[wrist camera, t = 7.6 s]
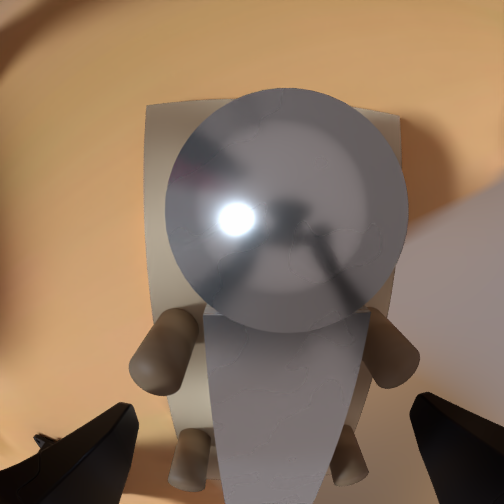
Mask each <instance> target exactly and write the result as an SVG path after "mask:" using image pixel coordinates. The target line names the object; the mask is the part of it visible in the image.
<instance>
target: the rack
mask: <svg viewBox="0 0 504 504" xmlns="http://www.w3.org/2000/svg"><path fill="white" fill-rule="evenodd" d="M233 100H235V99H214V100H196V101H183V102H172V103H163V104H155V105H147V107H146V121H145V139H144V224H145V243H146V257H147V270H148V280H149V290H150V299H151V307H152V315H153V322H154V325H153V327H152V328H151V330H150V331H149V333H148V334H147V336H146V337H145V339H144V340H143V342H142V343H141V345H140V346H139V348H138V349H137V351H136V352H135V354H134V355H133V357H132V359H131V360H130V363H129V372H130V375H131V377H132V379H133V380H134V382H135V383H136V384H137V385H138V386H139V387H140V388H142V389H143V390H145V391H146V392H148V393H151V394H154V395H158V396H167V399H168V404H169V408H170V412H171V416H172V420H173V424H174V428H175V432H176V435H177V439H178V441H177V445H176V449H175V453H174V457H173V461H172V465H171V469H170V473H169V477H168V482H169V483H170V484H171V485H172V486H174V487H175V488H178V489H180V490H184V491H189V492H198V491H202V490H204V489H205V483H206V479H216V480H221V477H220V470H219V464H218V457H217V450H216V443H215V436H214V428H213V420H212V412H211V403H210V394H209V385H208V374H207V364H206V352H205V340H204V326H203V313H204V310H205V307H206V305H207V303H206V302H205V301H204V300H203V299H202V298H201V297H200V296H199V295H198V294H197V293H196V292H195V291H194V290H193V288H192V287H191V286H190V284H189V283H188V281H187V280H186V279H185V277H184V276H183V274H182V272H181V270H180V268H179V267H178V265H177V263H176V261H175V258H174V255H173V253H172V250H171V248H170V244H169V240H168V235H167V231H166V222H165V197H166V191H167V186H168V180H169V177H170V174H171V171H172V168H173V165H174V163H175V161H176V158H177V156H178V154H179V152H180V150H181V148H182V147H183V145H184V144H185V142H186V141H187V140H188V138H189V137H190V135H191V134H192V133H193V132H194V131H195V129H196V128H197V127H198V126H199V125H200V124H201V123H202V122H203V121H204V120H205V119H206V118H208V117H209V116H210V115H211V114H212V113H214V112H215V111H216V110H218V109H219V108H221V107H223V106H224V105H226V104H227V103H229V102H231V101H233ZM352 108H354V109H356V110H357V111H358V112H360V113H361V114H362V115H363V116H365V117H366V118H367V119H368V120H369V121H370V122H371V123H372V124H373V125H374V126H375V127H376V128H377V129H378V130H379V131H380V132H381V134H382V135H383V136H384V138H385V139H386V141H387V142H388V143H389V145H390V146H391V148H392V150H393V152H394V154H395V156H396V157H397V160H398V162H399V165H400V167H401V170H402V153H401V129H400V116H398V115H393V114H388V113H383V112H378V111H373V110H368V109H362V108H356V107H352ZM395 266H396V265H395ZM394 273H395V267H394V269H393V271H392V273H391V275H390V276H389V278H388V279H387V281H386V282H385V283H384V285H383V286H382V288H381V289H380V290H379V291H378V292H377V293H376V294H375V295H374V296H373V297H372V298H371V299H370V300H369V301H368V302H367V303H366V304H365V306H366V307H367V308H368V309H369V310H370V311H371V316H370V321H369V327H368V332H367V337H366V342H365V347H364V351H363V356H362V360H361V364H360V369H359V373H358V377H357V381H356V384H355V388H354V392H353V395H352V399H351V402H350V406H349V409H348V412H347V416H346V419H345V422H344V425H343V428H342V431H341V434H340V437H339V440H338V443H337V446H336V448H335V451H334V454H333V457H332V459H331V462H330V464H329V467H328V469H327V472H326V474H325V475H330V474H332V478H333V482H334V484H335V485H336V486H348V485H352V484H355V483H357V482H359V481H361V480H363V479H364V478H365V477H366V476H367V475H368V473H369V471H368V469H367V466H366V463H365V461H364V458H363V456H362V453H361V450H360V448H359V445H358V443H357V440H356V437H355V435H354V432H355V429H356V426H357V424H358V421H359V418H360V415H361V412H362V409H363V407H364V404H365V401H366V397H367V394H368V391H369V388H370V384H371V381H372V378H374V380H375V382H376V383H377V384H378V386H380V387H381V388H385V389H390V388H394V387H397V386H399V385H401V384H403V383H404V382H406V381H407V380H408V379H409V378H410V377H411V376H412V375H413V374H414V373H415V371H416V369H417V367H418V365H419V361H420V354H419V352H418V350H417V349H416V348H415V347H414V346H413V345H412V344H411V343H410V342H409V341H408V340H407V339H406V338H405V336H404V335H402V333H401V332H400V331H399V330H398V329H397V328H396V327H395V326H394V325H393V324H392V323H391V322H390V321H389V320H388V319H387V315H388V310H389V304H390V299H391V293H392V287H393V280H394Z"/></svg>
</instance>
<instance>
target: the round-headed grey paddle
mask: <svg viewBox="0 0 504 504" xmlns="http://www.w3.org/2000/svg"><path fill="white" fill-rule="evenodd" d="M165 222H166V231H167V235H168V240H169V244H170V248H171V250H172V253H173V255H174V258H175V261H176V263H177V265H178V267H179V268H180V270H181V272H182V274H183V276H184V277H185V279H186V280H187V281H188V283H189V284H190V286H191V287H192V288H193V290H194V291H195V292H196V293H197V294H198V295H199V296H200V297H201V298H202V299H203V300H204V301H205V302H206V303H207V305H206V307H205V310H204V313H203V326H204V340H205V352H206V364H207V374H208V385H209V394H210V403H211V412H212V420H213V428H214V436H215V443H216V450H217V457H218V464H219V470H220V477H221V483H222V489H223V494H224V500H225V504H313V502H314V499H315V497H316V495H317V493H318V491H319V488H320V486H321V484H322V481H323V479H324V476H325V474H326V472H327V469H328V467H329V464H330V462H331V459H332V457H333V454H334V451H335V448H336V446H337V443H338V440H339V437H340V434H341V431H342V428H343V425H344V422H345V419H346V416H347V412H348V409H349V406H350V402H351V399H352V395H353V392H354V388H355V384H356V381H357V377H358V373H359V369H360V364H361V360H362V356H363V351H364V347H365V342H366V337H367V332H368V327H369V321H370V316H371V311H370V310H369V309H368V308H367V307H366V306H365V304H366V303H367V302H368V301H369V300H370V299H371V298H372V297H373V296H374V295H375V294H376V293H377V292H378V291H379V290H380V289H381V288H382V286H383V285H384V283H385V282H386V281H387V279H388V278H389V276H390V275H391V273H392V271H393V269H394V267H395V265H396V263H397V261H398V259H399V256H400V254H401V251H402V249H403V245H404V241H405V237H406V233H407V225H408V196H407V188H406V184H405V180H404V176H403V172H402V170H401V167H400V165H399V162H398V160H397V157H396V156H395V154H394V152H393V150H392V148H391V146H390V145H389V143H388V142H387V141H386V139H385V138H384V136H383V135H382V134H381V132H380V131H379V130H378V129H377V128H376V127H375V126H374V125H373V124H372V123H371V122H370V121H369V120H368V119H367V118H366V117H365V116H363V115H362V114H361V113H360V112H358V111H357V110H356V109H354V108H352V107H351V106H349V105H347V104H346V103H344V102H342V101H340V100H338V99H336V98H333V97H331V96H329V95H326V94H322V93H319V92H315V91H311V90H304V89H297V88H276V89H269V90H262V91H258V92H255V93H251V94H247V95H245V96H242V97H240V98H238V99H235V100H233V101H231V102H229V103H227V104H226V105H224V106H223V107H221V108H219V109H218V110H216V111H215V112H214V113H212V114H211V115H210V116H209V117H208V118H206V119H205V120H204V121H203V122H202V123H201V124H200V125H199V126H198V127H197V128H196V129H195V131H194V132H193V133H192V134H191V135H190V137H189V138H188V140H187V141H186V142H185V144H184V145H183V147H182V148H181V150H180V152H179V154H178V156H177V158H176V161H175V163H174V165H173V168H172V171H171V174H170V177H169V180H168V186H167V191H166V197H165Z"/></svg>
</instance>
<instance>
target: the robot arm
mask: <svg viewBox="0 0 504 504" xmlns="http://www.w3.org/2000/svg"><path fill="white" fill-rule="evenodd" d="M410 420H411V423H412V427H413V430H414V433H415V437H416V440H417V444H418V447H419V451H420V453H421V456H422V458H423V461H424V463H425V466H426V469H427V471H428V474H429V476H430V479H431V482H432V484H433V487H434V489H435V493H436V495H437V498H438V501H439V504H504V427H503V426H500V425H498V424H496V423H493V422H491V421H489V420H487V419H484V418H482V417H480V416H478V415H476V414H474V413H472V412H470V411H467V410H465V409H463V408H461V407H459V406H457V405H455V404H452V403H451V402H449V401H447V400H444V399H442V398H440V397H438V396H436V395H434V394H432V393H430V392H425V393H421V394H418V395H417V397H416V399H415V401H414V403H413V405H412V408H411V410H410ZM138 429H139V422H138V419H137V416H136V413H135V410H134V407H133V406H132V404H128V403H123V402H119V403H117V404H116V405H114V406H113V407H111V408H110V409H108V410H107V411H105V412H104V413H102V414H101V415H99V416H97V417H96V418H94V419H93V420H91V421H90V422H88V423H86V424H85V425H83V426H82V427H80V428H79V429H77V430H75V431H74V432H72V433H71V434H69V435H67V436H66V437H64V438H62V439H61V440H59V441H57V442H56V443H55V442H53V441H50V440H48V439H46V438H44V437H42V436H39V435H37V434H36V435H35V436H34V437H33V438H34V440H35V441H36V443H37V444H38V446H39V447H40V450H39V451H38V453H37V454H35V455H33V456H32V457H30V458H28V459H26V460H24V461H22V462H20V463H18V464H16V465H13V466H11V467H9V468H6V469H4V470H1V471H0V504H119V502H120V498H121V495H122V492H123V489H124V486H125V483H126V480H127V477H128V474H129V470H130V467H131V463H132V458H133V453H134V448H135V443H136V438H137V434H138Z"/></svg>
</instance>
